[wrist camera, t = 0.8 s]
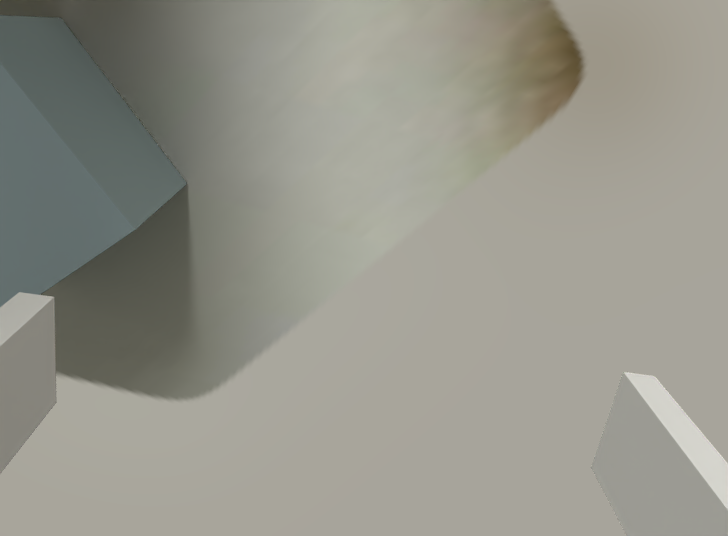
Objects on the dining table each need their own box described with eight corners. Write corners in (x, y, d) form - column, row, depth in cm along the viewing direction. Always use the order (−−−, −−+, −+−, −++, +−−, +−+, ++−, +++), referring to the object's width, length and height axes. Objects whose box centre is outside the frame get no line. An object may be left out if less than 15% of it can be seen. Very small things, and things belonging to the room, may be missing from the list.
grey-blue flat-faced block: (-83, 129, 35) (-221, 160, 26) (60, 17, 33) (-40, 13, 25) (48, 278, 38) (-39, 348, 29) (187, 183, 36) (135, 229, 28)
